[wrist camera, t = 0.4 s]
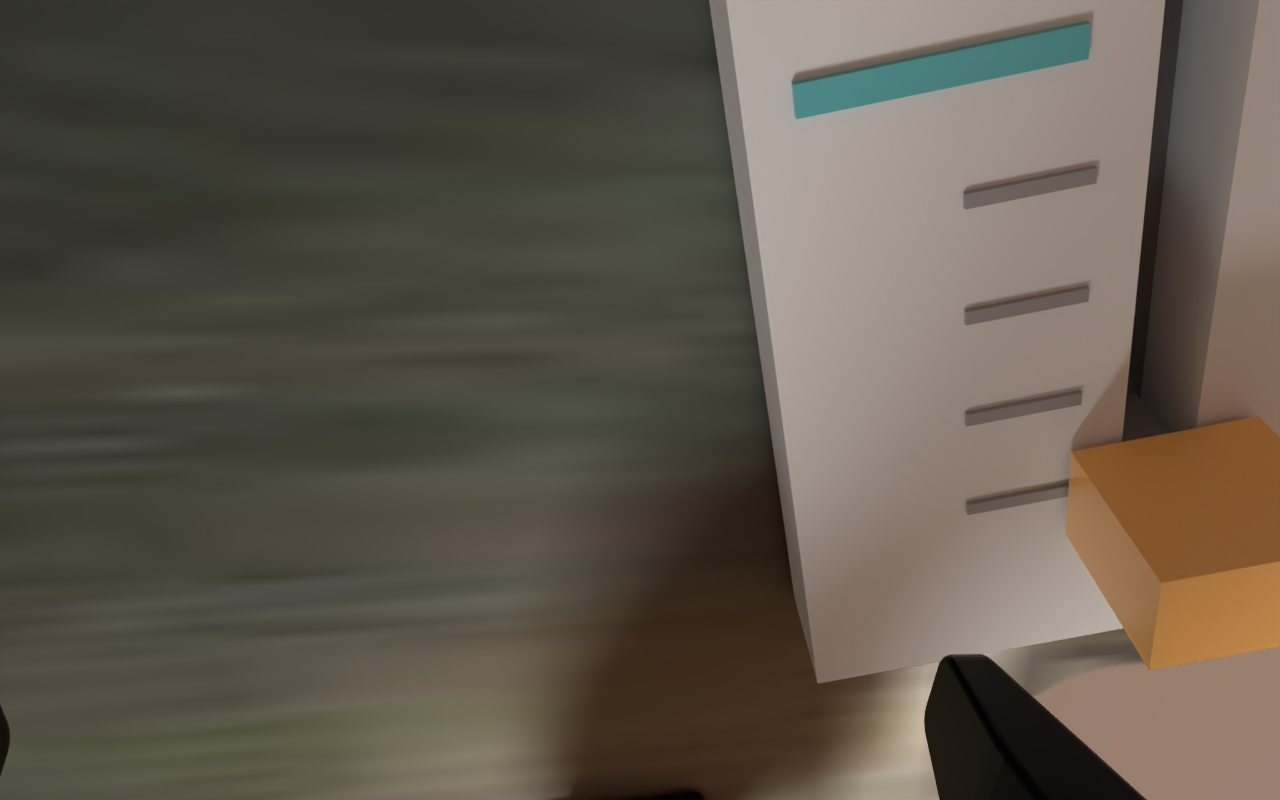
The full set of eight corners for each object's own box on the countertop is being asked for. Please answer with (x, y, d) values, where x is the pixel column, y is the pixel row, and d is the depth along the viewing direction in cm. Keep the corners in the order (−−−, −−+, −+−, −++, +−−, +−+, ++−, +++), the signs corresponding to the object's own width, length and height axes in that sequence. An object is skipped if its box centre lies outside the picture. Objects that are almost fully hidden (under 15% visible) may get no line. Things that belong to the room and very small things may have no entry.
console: (1381, 489, 28) (1467, 571, 25) (794, 598, 29) (819, 688, 26) (1651, -453, 17) (1855, -481, 14) (675, -235, 17) (697, -224, 15)
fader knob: (1190, 440, 25) (1356, 633, 20) (1026, 471, 26) (1149, 670, 20) (1202, 359, 24) (1383, 542, 19) (1029, 392, 24) (1161, 582, 19)
